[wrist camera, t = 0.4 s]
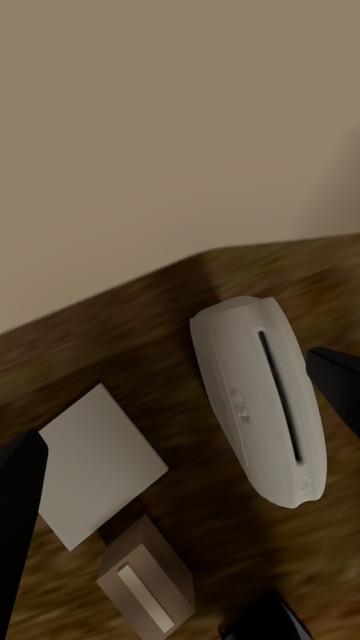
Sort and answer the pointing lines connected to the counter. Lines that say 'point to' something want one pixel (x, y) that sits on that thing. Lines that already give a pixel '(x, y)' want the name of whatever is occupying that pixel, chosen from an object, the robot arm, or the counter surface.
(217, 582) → the counter surface
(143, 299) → the counter surface
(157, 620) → the ridged brown block
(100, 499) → the mat
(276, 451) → the photo printer
